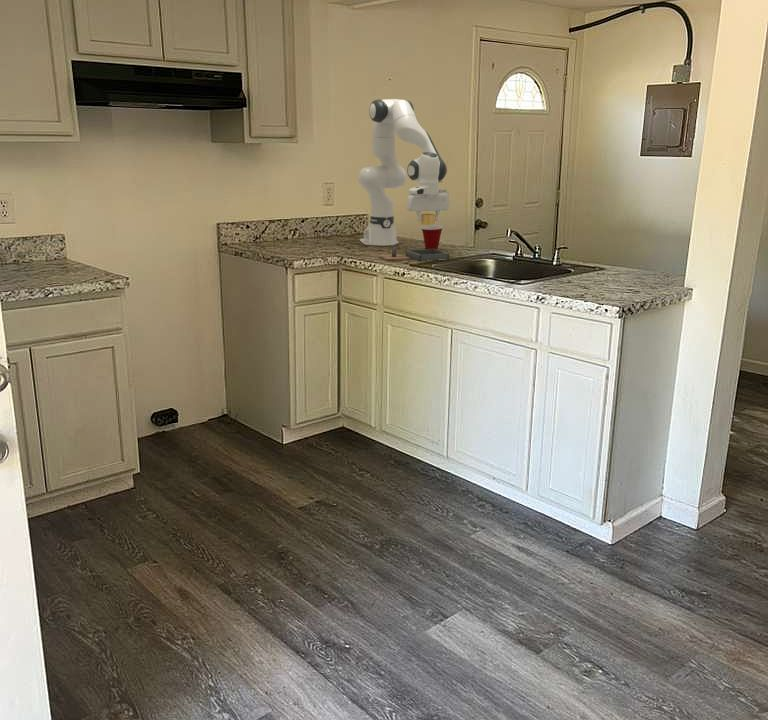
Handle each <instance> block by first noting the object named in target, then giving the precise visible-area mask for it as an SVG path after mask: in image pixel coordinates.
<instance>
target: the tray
mask: <svg viewBox="0 0 768 720" xmlns="http://www.w3.org/2000/svg"><path fill="white" fill-rule="evenodd" d="M405 256H407V257H409V258H410V260H414V261H416V260H417V261H416V262H419V261H425V262H428V261H427V260H439V259H449V260H450V253H449V252H445V251H444V250H443V251H442V250H440V249H438V250H437V249H425V248H422V249H406V250H405Z"/></svg>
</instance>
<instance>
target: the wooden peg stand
mask: <svg viewBox="0 0 768 720" xmlns="http://www.w3.org/2000/svg"><path fill="white" fill-rule="evenodd" d="M390 246H391V254H378V256H377V257H378V259H380V260H381V259H382V260H384V261H386V262H399V261H410V260H411V258H409V257H407V256H406V255H404V254H400V253H397V248H398V245H397V244H395V245H390Z"/></svg>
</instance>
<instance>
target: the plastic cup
mask: <svg viewBox="0 0 768 720" xmlns="http://www.w3.org/2000/svg"><path fill="white" fill-rule="evenodd" d="M443 228H444V226H442V225H439V224H435V225H421V227H420V229H421V230H422V231H421V232H422V236H423V242H424V249H437V250H439V244H440V240H441V235H442V231H443Z"/></svg>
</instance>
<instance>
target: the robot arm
mask: <svg viewBox="0 0 768 720" xmlns="http://www.w3.org/2000/svg"><path fill="white" fill-rule="evenodd" d="M414 110H415V109H414V106H413V103H412V101H410V100H407V99H398V98H385V99H380V98H379V99H374V100H373V101H372V102H370V105H369V110H368V112H369V113H368V114H369V118H370V119H371V121H373V126H372V141H371V145H372V146H371V148H372V149H371V152H372V154H373V156H374V157H375V158H378V160H380V163H381V165H372V166H366V167H363V168H362V169H360V171H359V173H358V183H359V184H360V186H361V187H362V188H363V189H364V190H366V192H367V194H368V196H369V198H370V199H369V200H370V204H371V206H370V208H371V216H369V217H370V218H369V224H368V225H367V227H366V228H365V230H362V235H363V237H362V238H360V239H359V242H361V243H362V244H363V245H366V246H383V247H385V246H391V245H397V244H399V243H400V242H399V240H397V239H398V238H397V227H396V226H395V225H394V223H395V217H394V201H393V199H392V198H391V197H389V196H388V195H386V193H385V189H396V188H400V187H403V186H404V185H405V183H406V181H407V175H408V178H409V179H410V180H411V181H414V182H418V183H419V184H418V185H417V186H414V187H411V188H409V189H408V193H409V195H408V197H407V201H406V209H407V211H408V212H416V215H417V217H418V219H417V220H418V222H421V221H423V217H421V214H422V212H429V211H430V212H432V211H434V212H435V213H434V214H435V222H437V221H438V217H439V215H440V214H441V211H449V209H450V191H448V190H447V189H439V188H440V187H439V186H440V182H442V180H444V178H445V177H446V175H447V173H448V169H447V165H446V163H445V161H444V160H443V159H442V157H441V155H440V154H439V151H438V150H437V148H436V146H435V144H434V142H433V140H432V138H431V136H430V134H429V133H428V132H427V131H426V130H425V129H424V128H423V127H422V126H421V125H420V123H419V122H418V120H417V117H416V114H415V111H414ZM395 133H396V134H395ZM395 135H397V137H398V138H399V139H400V140H402V141H403V142H406V143H410V144H413V145H414V146H418V147H419V148H421V149H422V150H423V152H422V153H421V154H420V156H419V157H418V158H415V159H412V160H411V161H410V162H409V163H408V165H407V171H406V170H405V169H404V167H402V166H401V165H400V163H399V162H398V160H397V157H396V153H395V151H396V150H395V145H396V144H395V140H396V139H395Z"/></svg>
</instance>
